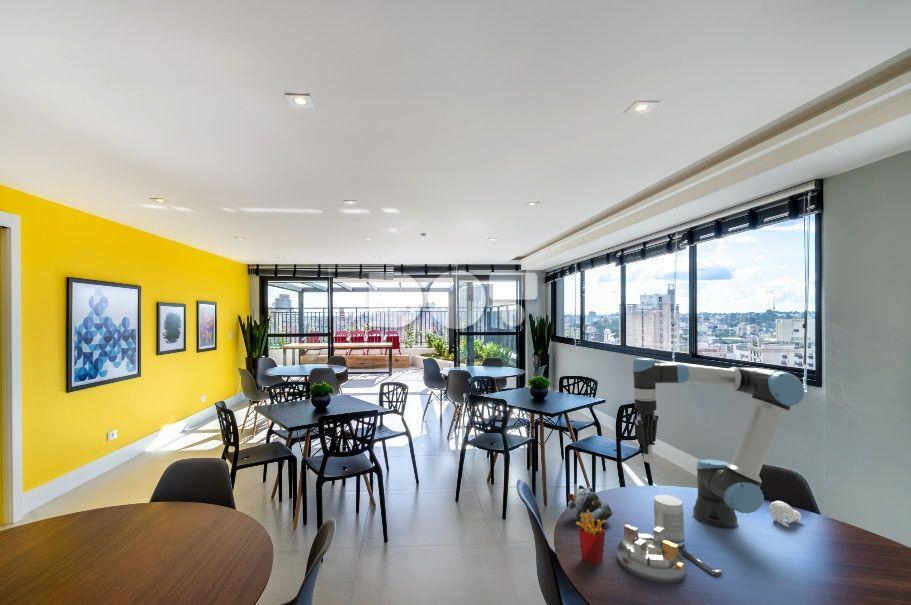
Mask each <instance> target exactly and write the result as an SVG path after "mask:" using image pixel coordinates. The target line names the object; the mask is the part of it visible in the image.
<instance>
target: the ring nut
mask: <svg viewBox="0 0 911 605" xmlns="http://www.w3.org/2000/svg"><path fill="white" fill-rule="evenodd" d="M623 536H624V537H623V539H622V541H623V548H624V550H625V552H626V553H627V555H628V557H630V559H632V560H635V561H637V562H639V563H641V564H643V565H645V566H650V567H651V568H666V569H669V567H670V568H672V567H673V566H674V565H675V564H677V563H678V562H679V554H680V551H679V547H678V545H676V544H674V543H672V542H669V541H667V540H664V539H665V528H663V527H660V526H658V527H656V528H655V527H654V529H653V534H652V535H651V534H650V533H640V532H639V528H638V527H635V526H633V525H630V524H628V523H627V524H625V525H623ZM643 539H648V540H653V541H655V542H657V543H659V544H660V545H661V546H662V550H663V554H665V555H649V554H647V553H646V552H647V546H646V541H645V540H643Z"/></svg>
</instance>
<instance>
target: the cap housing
mask: <svg viewBox="0 0 911 605" xmlns="http://www.w3.org/2000/svg"><path fill="white" fill-rule="evenodd" d="M643 540H645V541H646V546H647V552H646V553H647V554H649V555H665V554H663V550H662V546H661V545H660V544H659V543H657V542H655V541H653V540H648V539H643ZM617 560H618V562H619V564H620V566H622V567H623V569H625V570H626V571H627V572H629V573H630V574H632V575H633V576H636V577H638V578H640V579H643V580H645V581H649V582H653V583H658V584H674V583H678V582H680V581H682V580H683V579H684V577H685V576H686V562H685V561H686V560H685V559H684V557H683V556H682V555H681V553H679V562H678V563H677V564H675V565H674V566H673V567H672V568H670V567H669V569H666V568H651V567H650V566H645V565H643V564H641V563H639V562H637V561H635V560H632V559H630V557H628V555H627V553H626V552H625V550H624V548H623V540H622V541H620V542H619V543H618V545H617Z"/></svg>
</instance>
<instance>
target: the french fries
mask: <svg viewBox="0 0 911 605" xmlns="http://www.w3.org/2000/svg"><path fill="white" fill-rule="evenodd" d="M587 513H588V514H587V515H586V516H585V514H583V513H581V515H580V517H581V518H582V522H581V521H576V522H575V524H576V525H577V526H578V527H580V528H579V529H578V534H579V535H578V536H579V537H578V538H579V543H580V544H579V546H580V552H581V554H580V555H581V560H582V561H584V562H585V563H586V562H587V563H589V564H590V565H593V566H595V567H596V566H597V565H599V564H600V563H601V562H602V561H603V559H604V558H603V557H604V546H605V536H606V529H604V528H602V525H603V524H604V523H606V522H607V520H606V521H605V520H603V521H601V522H600V520H597V522H598V525H597V526H594V519H593V516H592V515H591V513H590V511H589V510H587ZM588 517H589V518H588ZM588 519H590V522H589V520H588ZM602 523H603V524H602ZM601 524H602V525H601Z"/></svg>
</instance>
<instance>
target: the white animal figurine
mask: <svg viewBox="0 0 911 605" xmlns="http://www.w3.org/2000/svg"><path fill="white" fill-rule="evenodd" d="M768 511H769V514H770V517H771V519H772V520H773V521H774V522H779V523H780V524H781V525H782V527H783V526H784V527H786V528H788V527H790V525H789V524H790V523H792V522H793V523H799V522H801V519H802V515H801V513H800V512H799V511H798V510H795V509H793V507H792V506H791V505H790V504H788V503H787V502H784V501H782V500H775V501H772V502H770V505H769V506H768ZM784 520H787V522H786V521H784Z"/></svg>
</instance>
